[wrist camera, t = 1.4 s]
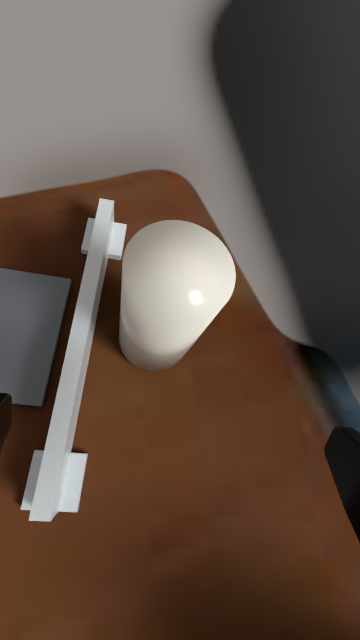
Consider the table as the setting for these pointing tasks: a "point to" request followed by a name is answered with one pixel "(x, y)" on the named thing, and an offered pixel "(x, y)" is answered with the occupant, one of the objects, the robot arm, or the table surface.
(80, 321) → the light grey long bar
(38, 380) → the slate mat
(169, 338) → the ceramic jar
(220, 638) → the table surface
